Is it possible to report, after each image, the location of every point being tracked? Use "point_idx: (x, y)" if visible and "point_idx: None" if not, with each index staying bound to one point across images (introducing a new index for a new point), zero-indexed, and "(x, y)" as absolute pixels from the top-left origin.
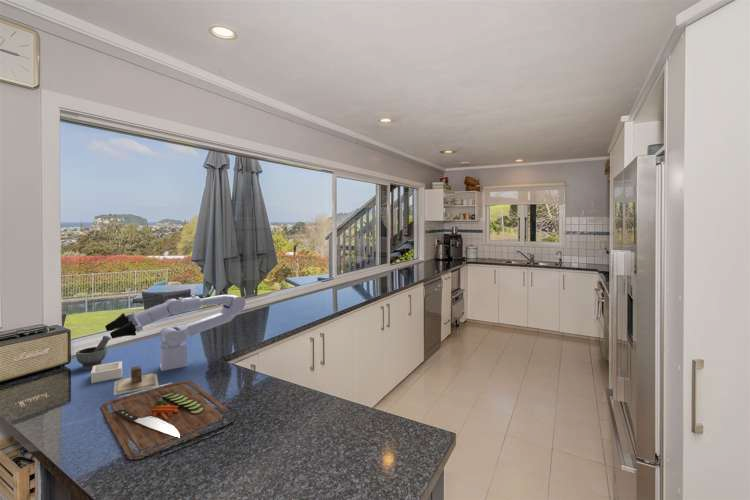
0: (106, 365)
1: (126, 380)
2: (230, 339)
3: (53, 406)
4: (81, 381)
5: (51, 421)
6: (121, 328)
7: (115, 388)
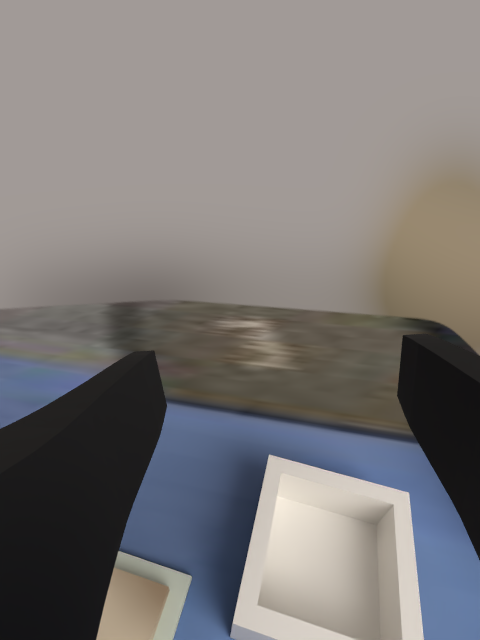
0: (395, 564)
1: (106, 627)
2: None
3: None
4: (338, 462)
5: (32, 343)
6: (33, 413)
7: None
